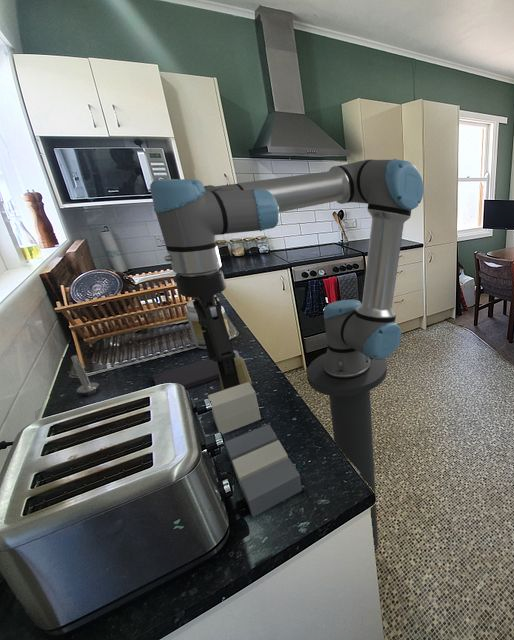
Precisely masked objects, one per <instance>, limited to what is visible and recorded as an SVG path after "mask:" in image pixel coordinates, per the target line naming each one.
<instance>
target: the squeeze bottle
mask: <svg viewBox="0 0 514 640" xmlns="http://www.w3.org/2000/svg"><path fill="white" fill-rule="evenodd" d="M233 351H234V353H235V358H234V361H235V365H236V369H237V374H238V378H239V382H240V385H241V384H244V383H247V382H249V383H250V384H251V385H252V379H251V376H250V374H249V371H248V368H247V365H246V362H245V359H244V358H243V357H242V356H240V354H239V351H238V350H236V349H233ZM218 369H219V368H218ZM219 377H220V378H219V384H220V391H223V390H226V389H224V387H223V383H222V379H221V376H220V372H219ZM237 386H238V385H237ZM234 387H235V386H234ZM231 388H232V387H231ZM228 389H229V388H228Z"/></svg>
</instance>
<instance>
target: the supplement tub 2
mask: <svg viewBox="0 0 514 640" xmlns="http://www.w3.org/2000/svg"><path fill="white" fill-rule="evenodd" d="M217 300H218V301H220V298H219V297H217ZM193 301H194V299H192V300H190V301H188V302H187V303H186V310H187V311H186V319H187V322H188V325H189V329H190V332H191V336H192V340H193V343H194V346H195V347H197V348H198V349H201V350H207V348H206V344H205V341H204V337H203V333H202V332H205V331H202V329H201V325H200V324H199V323H198V322H199V320H198V315H197V313H196V310H195V308H194V305H193ZM221 308H222V309H221V311H222V314H223V317H224V322H225V325H226V328H227V331H228V335H229V338H230V339H231V337H232V336H231V332H230V328H229V324H228V320H227V316H226V311H225V308H224V306H222V305H221Z"/></svg>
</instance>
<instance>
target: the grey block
mask: <svg viewBox="0 0 514 640" xmlns="http://www.w3.org/2000/svg"><path fill="white" fill-rule="evenodd" d="M277 440H279V439H278V436H277V435H276V433H275V431H274V429H273V428H272V426H271V425H270V424H269V423H268V424H266V425H263V426H261V427H258V428H255V429H253V430H251V431H248V432H246V433H244V434H241V435H239V436H236V437H234V438H231V439H229V440H226V441H224V445H225V449H226V453H227V456H228V459H229V462H230V464H231V466H232V469H233V471H234V472H235V470H234V466H233V463H232V460H234V459H237V458H239V457H241V456H243V455H246V454H248V453H250V452H252V451H255V450H257V449H259V448H262V447H264V446H266V445H268V444H271V443H273V442H275V441H277Z"/></svg>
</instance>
